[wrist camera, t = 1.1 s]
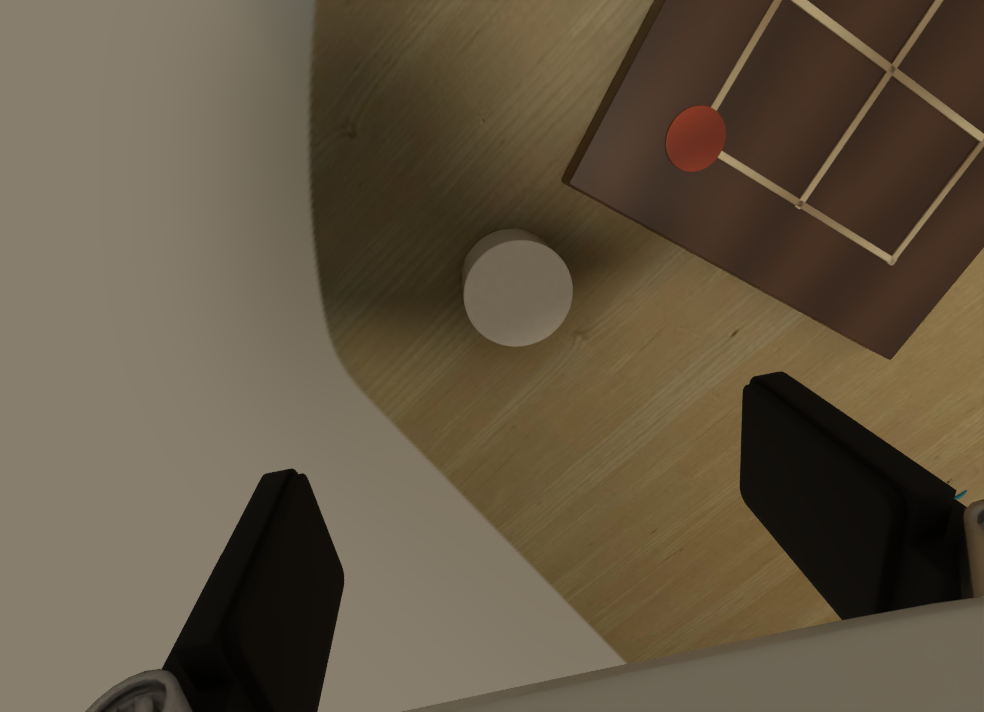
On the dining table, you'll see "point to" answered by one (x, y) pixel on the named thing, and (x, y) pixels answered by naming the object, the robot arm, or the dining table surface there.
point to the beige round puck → (515, 288)
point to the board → (805, 150)
